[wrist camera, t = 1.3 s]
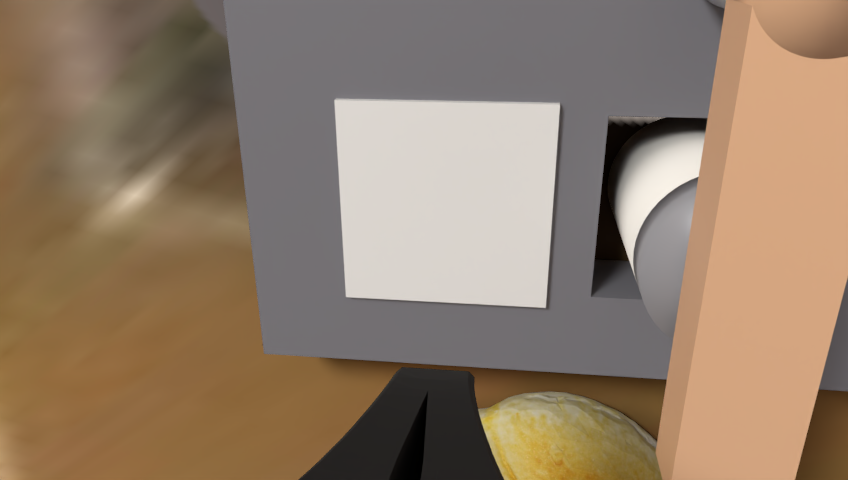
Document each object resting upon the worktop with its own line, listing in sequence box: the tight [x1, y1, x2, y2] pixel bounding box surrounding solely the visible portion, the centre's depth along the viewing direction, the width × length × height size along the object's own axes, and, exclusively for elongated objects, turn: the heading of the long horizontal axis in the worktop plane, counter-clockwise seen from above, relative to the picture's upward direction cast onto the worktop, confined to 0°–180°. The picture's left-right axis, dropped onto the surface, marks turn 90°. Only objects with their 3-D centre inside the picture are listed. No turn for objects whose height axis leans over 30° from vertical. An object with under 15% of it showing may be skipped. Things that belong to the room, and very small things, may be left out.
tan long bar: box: [656, 0, 848, 480], centre depth 13 cm, size 12×3×2 cm, turn 0°
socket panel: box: [223, 0, 848, 391], centre depth 17 cm, size 20×13×6 cm, turn 90°
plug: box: [607, 117, 708, 340], centre depth 17 cm, size 4×4×6 cm
